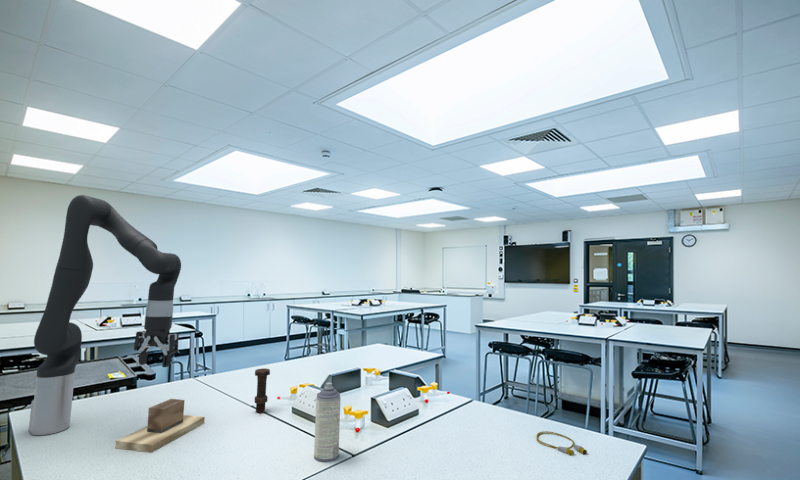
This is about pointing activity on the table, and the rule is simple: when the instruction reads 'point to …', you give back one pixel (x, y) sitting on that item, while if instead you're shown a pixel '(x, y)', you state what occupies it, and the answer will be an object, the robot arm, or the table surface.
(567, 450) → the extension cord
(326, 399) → the aerosol can
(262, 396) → the bolt
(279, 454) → the table surface
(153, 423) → the block
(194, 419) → the pine board
